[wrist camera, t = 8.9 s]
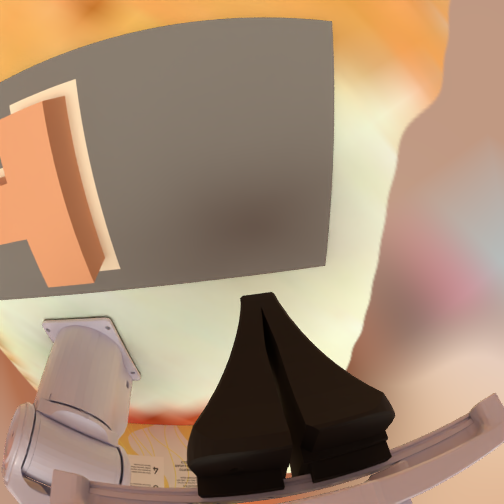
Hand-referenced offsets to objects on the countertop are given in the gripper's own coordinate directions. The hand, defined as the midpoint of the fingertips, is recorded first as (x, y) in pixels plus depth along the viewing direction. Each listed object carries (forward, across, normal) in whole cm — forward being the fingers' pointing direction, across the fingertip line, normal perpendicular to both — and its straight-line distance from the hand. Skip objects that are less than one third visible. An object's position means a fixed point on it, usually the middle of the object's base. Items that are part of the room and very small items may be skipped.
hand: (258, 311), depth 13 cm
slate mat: (+9, +9, -4) cm, 14 cm away
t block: (+9, +16, -4) cm, 19 cm away
